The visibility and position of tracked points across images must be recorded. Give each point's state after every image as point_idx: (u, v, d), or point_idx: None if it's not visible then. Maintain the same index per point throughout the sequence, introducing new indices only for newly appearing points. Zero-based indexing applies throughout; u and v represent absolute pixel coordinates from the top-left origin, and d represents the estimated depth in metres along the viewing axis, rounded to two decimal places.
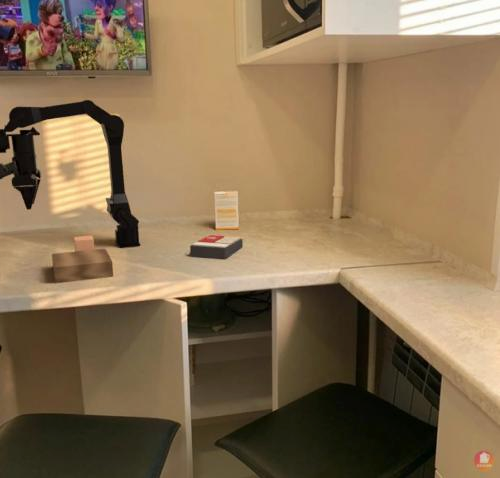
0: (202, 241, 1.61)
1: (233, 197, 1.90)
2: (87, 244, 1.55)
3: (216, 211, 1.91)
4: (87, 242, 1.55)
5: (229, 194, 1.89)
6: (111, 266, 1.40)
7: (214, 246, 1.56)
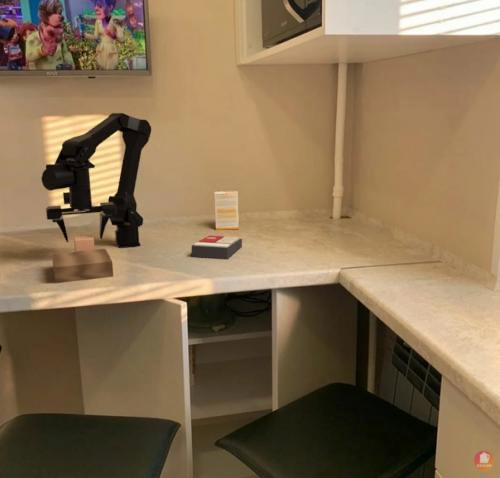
0: (203, 241, 1.61)
1: (233, 197, 1.90)
2: (87, 244, 1.55)
3: (216, 211, 1.91)
4: (87, 242, 1.55)
5: (229, 194, 1.89)
6: (111, 266, 1.40)
7: (216, 246, 1.56)
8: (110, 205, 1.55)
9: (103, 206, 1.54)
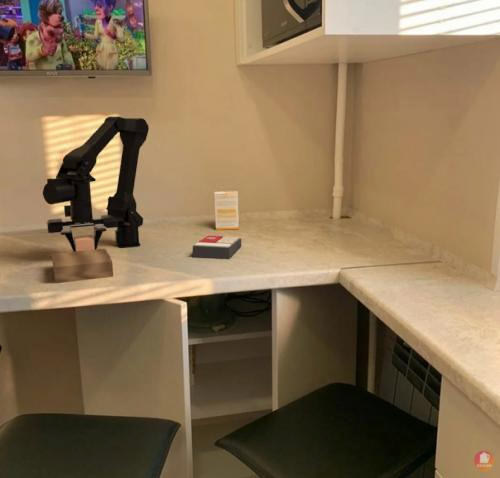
0: (203, 241, 1.61)
1: (233, 197, 1.90)
2: (87, 244, 1.55)
3: (216, 211, 1.91)
4: (87, 242, 1.55)
5: (229, 194, 1.89)
6: (111, 266, 1.40)
7: (217, 246, 1.56)
8: (111, 218, 1.56)
9: (104, 219, 1.55)
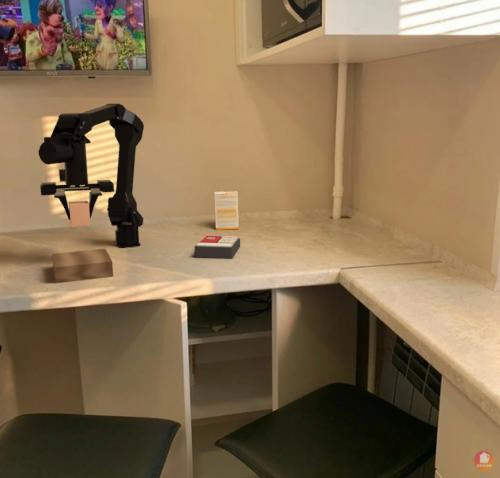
0: (204, 242, 1.61)
1: (233, 197, 1.90)
2: (82, 209, 1.48)
3: (216, 211, 1.91)
4: (82, 207, 1.48)
5: (229, 194, 1.89)
6: (111, 266, 1.40)
7: (220, 246, 1.56)
8: (107, 182, 1.49)
9: (100, 183, 1.48)
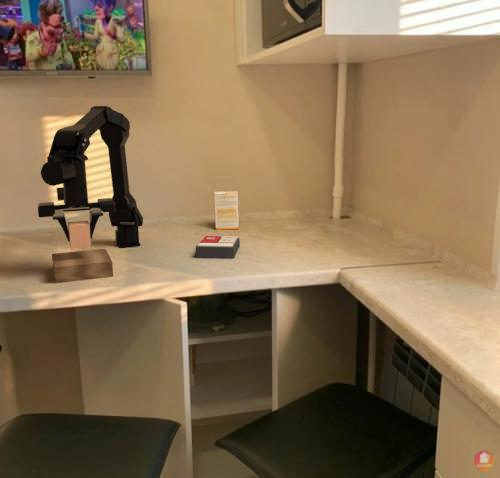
0: (205, 242, 1.60)
1: (233, 197, 1.90)
2: (82, 230, 1.40)
3: (216, 211, 1.91)
4: (82, 228, 1.40)
5: (229, 194, 1.89)
6: (111, 266, 1.40)
7: (221, 246, 1.56)
8: (108, 202, 1.41)
9: (100, 203, 1.40)
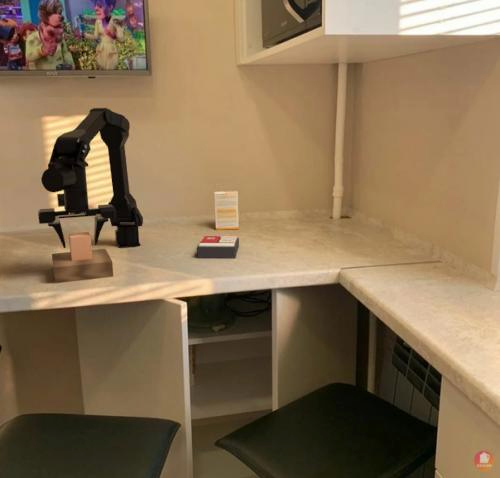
0: (205, 242, 1.60)
1: (233, 197, 1.90)
2: (84, 242, 1.41)
3: (216, 211, 1.91)
4: (83, 240, 1.41)
5: (229, 194, 1.89)
6: (111, 266, 1.40)
7: (223, 246, 1.56)
8: (109, 208, 1.41)
9: (101, 209, 1.40)
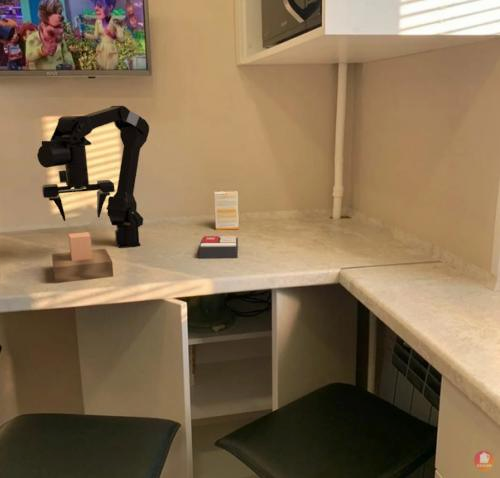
0: (206, 242, 1.60)
1: (233, 197, 1.90)
2: (84, 242, 1.41)
3: (216, 211, 1.91)
4: (83, 240, 1.41)
5: (229, 194, 1.89)
6: (111, 266, 1.40)
7: (225, 246, 1.56)
8: (107, 183, 1.53)
9: (100, 184, 1.52)
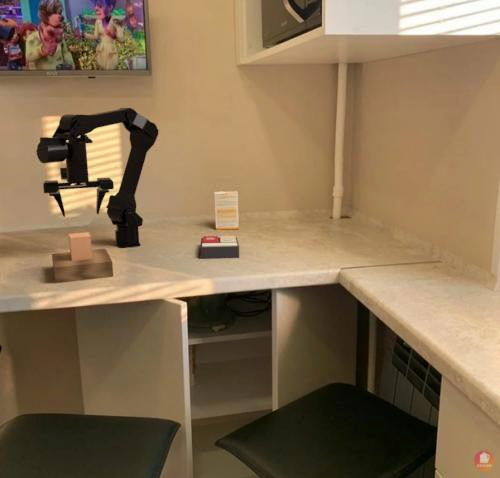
0: (207, 242, 1.60)
1: (233, 197, 1.90)
2: (84, 242, 1.41)
3: (216, 211, 1.91)
4: (83, 240, 1.41)
5: (229, 194, 1.89)
6: (111, 266, 1.40)
7: (226, 245, 1.56)
8: (107, 180, 1.56)
9: (100, 181, 1.55)
